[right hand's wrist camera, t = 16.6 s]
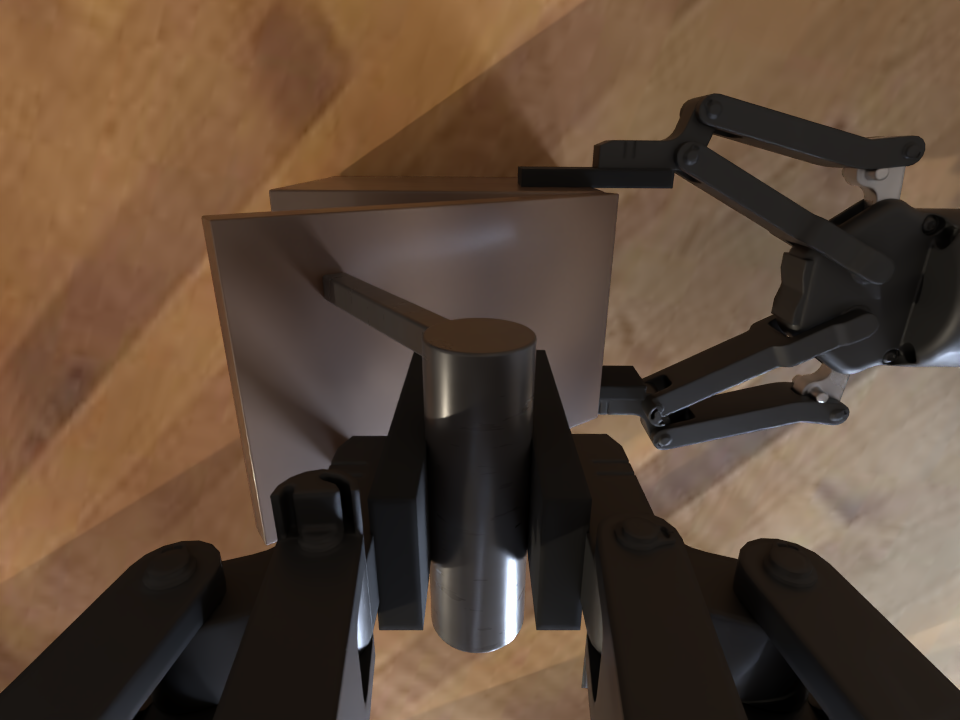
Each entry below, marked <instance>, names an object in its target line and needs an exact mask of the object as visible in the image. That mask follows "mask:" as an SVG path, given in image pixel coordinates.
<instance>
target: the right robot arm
mask: <svg viewBox="0 0 960 720" xmlns="http://www.w3.org/2000/svg"><path fill="white" fill-rule="evenodd" d="M270 498H271V504H272V510H273V516H274V522H275V528H276V533H277V539H278V540H277V543H276V546H275V547H273V548H271V549H269V550H266V551H263V552H259V553H256V554H253V555H248V556H244V557H239V558H235V559H230V560H226V561H222V560H221V556H220V552H219V551H218V550H217V549H216V548H215V547H214V546H213V545H212V544H209V543H206V542H202V541H181V542H177V543H174V544H170V545H166V546H163V547H161V548H159V549H156V550H154V551H152V552H150V553H148V554H146V555H144V556H143V557H142V558H141V559H139V560H138V561H137V562H135V563H134V564H133V565H131V566H130V567H129V568H128V569H127V570H126V571H125V572H124V573H123V574H122V575H121V576H120V577H119V578H118V579H117V580H116V581H115V582H114V583H113V584H112V585H111V586H110V587H109V588H108V589H107V590H106V591H105V592H103V593H102V594H101V595H100V596H99V597H98V598H97V599H96V600H95V601H94V602H93V603H92V604H91V605H90V606H89V607H88V608H87V609H86V610H85V611H84V612H83V613H82V614H81V615H80V616H79V617H78V618H77V619H76V620H75V621H74V622H73V623H72V624H71V625H70V626H69V627H68V628H67V629H66V630H65V631H64V632H63V633H62V634H61V635H60V636H59V637H58V638H57V639H56V640H55V641H54V642H52V643H51V644H50V645H49V646H48V647H47V648H46V649H45V650H44V651H43V652H42V653H41V654H40V655H39V656H38V657H37V658H36V659H35V660H34V661H33V662H32V663H31V664H30V665H29V666H28V667H27V668H26V669H25V670H24V671H23V672H22V673H21V674H20V675H19V676H18V677H17V678H16V679H15V680H14V681H13V682H12V683H11V684H10V685H9V686H8V687H7V688H6V689H5V690H4V691H3V692H1V693H0V720H370V709H371V697H372V686H373V675H374V664H375V648H374V637H373V629H374V624H375V620H376V615H377V610H378V621H379V630H423V625H424V617H425V608H426V599H427V591H428V582H429V574H430V565H431V546H430V520H429V495H428V469H427V443H426V439H425V423H424V395H423V367H422V356H421V355H419V354H417V353H416V352H414V353H413V356H412V359H411V362H410V365H409V369H408V372H407V375H406V378H405V381H404V384H403V388H402V391H401V394H400V397H399V400H398V403H397V407H396V410H395V413H394V416H393V419H392V422H391V426H390V429H389V432H388V435H387V436H352V437H351V438H349V439H348V440H347V441H346V442H345V443H343V444H342V445H341V446H340V447H338V448H337V451H336V453H335V455H334V457H333V459H332V461H331V465H330V466H329V468H328V469H319V470H312V471H306V472H303V473H300V474H298V475H295V476H292V477H290V478H288V479H287V480H285V481H284V482H282V483H281V484H279V485H278V486H277V487H276V488H275V490H274V491H273V492H272V494H271V495H270ZM527 552H528V561H529V569H530V578H531V587H532V595H533V604H534V613H535V621H536V630H580V626H581V615H582V610H583V615H584V620H585V624H586V629H587V637H586V648H585V658H584V668H583V678H582V688H588V696H589V707H590V719H591V720H960V690H959V689H958V688H957V687H956V686H955V685H954V684H953V683H952V682H951V681H950V680H949V679H948V678H947V677H945V676H944V675H943V674H942V673H941V672H940V671H939V670H938V669H937V668H936V667H935V666H934V665H933V664H932V663H931V662H930V661H929V660H928V659H927V658H926V657H925V656H924V655H923V654H922V653H921V652H920V651H919V650H918V649H917V648H916V647H915V646H914V645H913V644H912V643H911V642H910V641H909V640H907V639H906V638H905V637H904V636H903V635H902V634H901V633H900V632H899V631H898V630H897V629H896V628H895V627H894V626H893V625H892V624H891V623H890V622H889V621H888V620H887V619H886V618H885V617H884V616H883V615H882V614H881V613H880V612H879V611H878V610H877V609H876V608H875V607H874V606H873V605H872V604H871V603H869V602H868V601H867V600H866V599H865V598H864V597H863V596H862V595H861V594H860V593H859V592H858V591H857V590H856V589H855V588H854V587H853V586H852V585H851V584H850V583H849V582H848V581H847V580H846V579H845V578H844V577H843V576H842V575H841V574H840V573H839V572H838V571H837V570H836V569H835V568H834V567H832V566H831V565H830V564H829V563H828V562H827V561H825V560H824V559H823V558H821V557H820V556H819V555H817V554H816V553H815V552H813V551H811V550H808V549H806V548H804V547H802V546H800V545H798V544H795V543H792V542H788V541H784V540H780V539H767V538H760V539H756V540H753V541H749V542H747V543H746V544H745V545H744V546H743V547H742V548H741V549H740V553H739V557H738V559H735V558H730V557H726V556H721V555H717V554H712V553H708V552H704V551H701V550H697V549H694V548H691V547H689V546H687V545H685V544H684V542H683V539H682V538H681V536H680V535H679V533H678V532H677V530H676V529H675V528H674V527H673V526H672V525H670V524H669V523H668V522H666V521H665V520H664V519H661V518H659V517H657V516H654V514H653V511H652V509H651V507H650V505H649V503H648V501H647V499H646V497H645V494H644V492H643V490H642V488H641V486H640V484H639V482H638V479H637V477H636V475H634V471H633V469H632V467H631V465H630V463H629V460H628V458H627V456H626V454H625V452H624V450H623V447H622V446H621V445H620V444H618V443H617V442H616V441H615V440H614V439H612V438H611V437H610V436H609V435H607V434H571V430H570V427H569V424H568V421H567V418H566V415H565V411H564V408H563V405H562V402H561V399H560V396H559V392H558V389H557V386H556V383H555V380H554V376H553V373H552V370H551V367H550V364H549V361H548V357H547V354H546V351H545V350H536V366H535V387H534V409H533V430H532V452H531V473H530V495H529V516H528V537H527Z"/></svg>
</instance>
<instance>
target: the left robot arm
mask: <svg viewBox="0 0 960 720" xmlns="http://www.w3.org/2000/svg"><path fill="white" fill-rule="evenodd" d="M713 134H714V135H717V136H721V137H724V138H727V139H731V140H734V141H738V142H741V143H744V144H748V145H751V146H755V147H758V148H761V149H765V150H768V151H772V152H775V153H778V154H782V155H785V156H789V157H792V158H795V159H799V160H802V161H806V162H809V163H812V164H816V165H821V166H826V167H838V168H843V170H842V175H843V177H845V180H846V181H847V183H848V184H850V185H854V186H858V187H860V188H861V189H862V190H863V192H864V199H863V200H861V201H859V202H857V203H856V204H854V205H852V206H851V207H849V208H848V209H846V210H844V211H843V212H841V213H840V214H838V215H836V216H835V217H833V218H832V219H830V220H826V219H824V218H822V217H819V216H817V215H814V214H813V213H811V212H809V211H808V210H806V209H804V208H803V207H801V206H800V205H798V204H797V203H795V202H793V201H792V200H790V199H789V198H787V197H785V196H784V195H782V194H781V193H779V192H777V191H776V190H774V189H773V188H771V187H769V186H768V185H766V184H765V183H763V182H762V181H760V180H758V179H757V178H755V177H754V176H752V175H750V174H749V173H747V172H746V171H744V170H742V169H741V168H739V167H738V166H736V165H735V164H733V163H731V162H730V161H728V160H727V159H725V158H723V157H722V156H720V155H719V154H717V153H715V152H714V151H712V150H711V149H709V148H708V147H707V145H708V143H709V141H710V139H711V137H712V135H713ZM924 152H925V142H924V140H923V139H922V138H920V137H919V136H882V137H867V138H865V137H861V136H858V135H855V134H851V133H848V132H845V131H842V130H838V129H835V128H832V127H828V126H825V125H822V124H818V123H815V122H812V121H808V120H805V119H802V118H798V117H795V116H792V115H788V114H785V113H782V112H778V111H775V110H772V109H768V108H765V107H762V106H758V105H755V104H752V103H748V102H745V101H742V100H738V99H735V98H732V97H729V96H725V95H722V94H710V95H706V96H701V97H697V98H693V99H690V100H688V101H687V102H685V103H684V104H683V106H682V108H681V110H680V119H679V121H678V123H677V125H676V128H675V129H674V131H673V133H672V134H671V135H670V136H669V137H667V138H666V139H664V140H661V141H643V140H608V141H603V142H601V143H599V144H596V145H594V153H593V166H592V167H518V184H519V185H520V186H521V187H592V188H673V180H674V173H676V174H677V175H679V176H680V177H682V178H684V179H685V180H687V181H689V182H690V183H692V184H693V185H695V186H697V187H698V188H700V189H702V190H703V191H705V192H707V193H708V194H710V195H711V196H713V197H715V198H716V199H718V200H720V201H721V202H723V203H725V204H726V205H728V206H729V207H731V208H733V209H734V210H736V211H738V212H739V213H741V214H743V215H744V216H746V217H747V218H749V219H751V220H752V221H754V222H756V223H757V224H759V225H760V226H762V227H764V228H765V229H767V230H768V231H769V232H770V233H771V234H773V235H774V236H776V237H778V238H779V239H781V240H782V241H784V242H786V243H787V244H789V245H791V246H792V248H791V250H790V252H784V254H783V259H782V264H781V281H782V283H781V286H780V288H779V290H778V292H777V294H776V296H775V298H774V302H773V307H772V312H771V313H772V314H774V315H771V316H769V317H767V318H765V319H763V320H760V321H758V322H756V323H754V324H753V325H752V326H751V327H750V330H749V331H747V332H745V333H743V334H740V335H738V336H736V337H734V338H731V339H729V340H727V341H725V342H723V343H720V344H718V345H716V346H714V347H712V348H709V349H707V350H705V351H703V352H701V353H698V354H696V355H694V356H692V357H690V358H687V359H685V360H683V361H681V362H678V363H676V364H674V365H672V366H670V367H667V368H665V369H663V370H661V371H659V372H656V373H654V374H652V375H650V376H648V377H645V378H643V379H641V377H640V376H639V374H638V373H637V371H636V370H635V368H634V367H633V366H602V376H601V386H600V397H599V407H598V414H600V415H606V414H608V415H637V416H640V417H641V423H642V425H643V427H644V429H645V430H646V432H647V434H648V436H649V437H650V439H651V441H652V443H653V444H654V446H655V447H656V448H657V449H660V450H668V449H672V448H677V447H682V446H687V445H692V444H697V443H702V442H706V441H711V440H716V439H721V438H726V437H731V436H736V435H740V434H745V433H750V432H755V431H760V430H765V429H770V428H774V427H779V426H784V425H789V424H794V423H799V422H806V423H816V424H826V425H839V424H841V423H843V422H844V421H845V420H846V419H847V418H848V416H849V409H848V407H847V406H846V405H844V404H843V403H841V402H840V399H841V397H842V394H843V392H844V389H845V386H846V384H847V381H848V379H849V376H850V374H854V373H858V372H860V371H863V370H865V369H867V368H870V367H873V366H877V365H891V366H906V367H960V209H922V208H913V207H911V206H910V205H908V204H907V203H906V202H904V201H902V200H900V194H901V189H902V183H903V178H904V172H905V167H906V166H910V165H913V164H915V163H916V162H918V161H919V160H920V159H921V157H922V156H923V154H924ZM788 336H789V337H788ZM812 358H816V359H817V360H818V361H820V362H821V363H822V365H821V367H820V368H819V369H818V370H817V371H816V372H814V373H812V374H808V375H803V376H802V375H796V376H794V377H793V379H792V382H776V383H770V384H765V385H760V386H755V387H751V388H746V389H741V390H736V391H732V392H727V393H722V394H718V393H720V392H722V391H724V390H727V389H729V388H731V387H734V386H736V385H738V384H741V383H743V382H745V381H747V380H750V379H752V378H754V377H757V376H759V375H761V374H763V373H766V372H768V371H770V370H773V369H775V368H778V367H793V366H796V365H798V364H801V363H803V362H805V361H808V360H810V359H812ZM715 394H718V395H715Z"/></svg>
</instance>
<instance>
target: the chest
mask: <svg viewBox="0 0 960 720" xmlns="http://www.w3.org/2000/svg"><path fill="white" fill-rule="evenodd" d="M592 192H603V191H600V190H597V189H595V188H592V187H521V186H520V185H519V184H518V177H381V176H334V177H329V178H325V179H320V180H315V181H310V182H305V183H300V184H295V185H290V186H286V187H281V188H276V189H271V190H269V196H270V203H271V210H272V211H289V210H306V209H323V208H340V207H356V206H373V205H390V204H407V203H424V202H440V201H457V200H474V199H491V198H508V197H524V196H541V195H558V194H575V193H592ZM603 193H604V192H603Z"/></svg>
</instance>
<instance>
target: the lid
mask: <svg viewBox="0 0 960 720" xmlns="http://www.w3.org/2000/svg"><path fill="white" fill-rule="evenodd" d="M618 198H619V194H614V193H603V192H592V193H575V194H558V195H541V196H524V197H508V198H491V199H474V200H457V201H440V202H424V203H407V204H390V205H373V206H356V207H340V208H323V209H306V210H289V211H272V212H255V213H239V214H222V215H205V216H202V223H203V229H204V235H205V240H206V246H207V252H208V257H209V263H210V268H211V274H212V280H213V285H214V291H215V297H216V302H217V308H218V313H219V319H220V325H221V330H222V336H223V342H224V347H225V353H226V358H227V364H228V370H229V375H230V381H231V386H232V392H233V398H234V403H235V409H236V415H237V420H238V426H239V431H240V437H241V443H242V448H243V454H244V460H245V465H246V471H247V476H248V482H249V488H250V493H251V499H252V505H253V510H254V516H255V521H256V527H257V529H258V531H259V533H260V535H261V537H262V539H263V541H264V543H265V544H266V545H269V544H272V543H275V542H277V540H278V539H277V533H276V528H275V522H274V516H273V510H272V504H271V498H270V495H271V494H272V492H273V491H274V490H275V488H276V487H277V486H278V485H279V484H281V483H282V482H284V481H285V480H287V479H288V478H290V477H292V476H295V475H298V474H300V473H303V472H306V471H312V470H319V469H328V468H329V466H330V465H331V461H332V459H333V457H334V455H335V453H336V451H337V448H338V447H340V446H341V445H342V444H343V443H345V442H346V441H347V440H348V439H349V438H351V437H352V436H387V435H388V432H389V429H390V426H391V422H392V419H393V416H394V413H395V410H396V407H397V403H398V400H399V397H400V394H401V391H402V388H403V384H404V381H405V378H406V375H407V372H408V369H409V365H410V362H411V359H412V356H413V353H414V352H416V353H417V354H419V355H421V356H422V367H423V395H424V423H425V439H426V443H427V469H428V495H429V520H430V546H431V565H430V590H431V617H432V623H433V626H434V628H435V630H436V632H437V633H438V635H439V636H440V637H441V638H442V640H443V641H445V642H446V643H447V644H449V645H450V646H452V647H454V648H456V649H458V650H461V651H465V652H470V653H485V652H491V651H494V650H497V649H500V648H502V647H504V646H505V645H507V644H508V643H510V642H511V641H512V640H513V639H514V638H515V637H516V635H517V634H518V633H519V631H520V629H521V627H522V624H523V620H524V602H525V580H526V559H527V537H528V516H529V495H530V473H531V452H532V430H533V409H534V387H535V366H536V350H545V351H546V354H547V357H548V361H549V364H550V367H551V370H552V373H553V376H554V380H555V383H556V386H557V389H558V392H559V396H560V399H561V402H562V405H563V408H564V411H565V415H566V418H567V421H568V424H569V427H570V428H572V427H574V426H577V425H579V424H582V423H585V422H587V421H590V420H592V419H595V418H597V417H598V407H599V397H600V386H601V376H602V365H603V355H604V344H605V334H606V323H607V313H608V302H609V292H610V281H611V271H612V260H613V250H614V239H615V229H616V218H617V208H618Z"/></svg>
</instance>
